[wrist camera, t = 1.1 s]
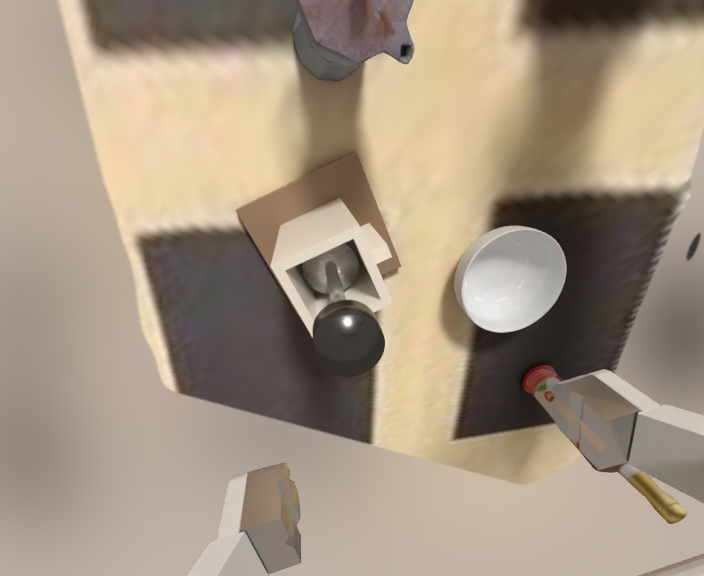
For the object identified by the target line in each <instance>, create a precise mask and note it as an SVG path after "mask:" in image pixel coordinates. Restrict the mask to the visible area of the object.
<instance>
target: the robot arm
mask: <svg viewBox="0 0 704 576" xmlns="http://www.w3.org/2000/svg"><path fill="white" fill-rule="evenodd" d="M553 394H554V395H555V396H556V397H557V399H556V401H555V402H554V404H553V405H552V414H553V417H554V420H555V422H556V424H557V426H558V427H559V429H560V430H561V431H562V432H563V433H564V435H565V436H566V437H567V438H570V439H572V440H574V441H577V442H578V444H579V450H580V451H581V452H582V453H583V454H584V455H585V456H586V458H587V459H588V460H589V461H590V462H591V463H592V464H593V465H594V466H595V467H596V468H597V469H598V470H601V469H605V468H609V467H612V466H616V465H619V464H623V463H627V462H629V463H628V464H629V465H631V466H633V467H635V468H637V469H639V470H641V471H643V472H645V473H647V474H649V475H651V476H652V477H655V478H656V479H658V480H660V481H662V482H664V483H666V484H668V485H670V486H672V487H674V488H676V489H677V490H679V491H681V492H683V493H685V494H687V495H689V496H691V497H693V498H695V499H697V500H699V501H700V502H702V503H704V416H702V415H699V414H696V413H692V412H689V411H686V410H683V409H679V408H676V407H673V406H669V405H662V406H660V405H658V404H657V403H656V402H654V401H653V400H651V399H650V398H648V397H647V396H646V395H644V394H643V393H641V392H640V391H638V390H637V389H635V388H634V387H632V386H631V385H630V384H628V383H627V382H625V381H624V380H622V379H621V378H619V377H618V376H617V375H615V374H614V373H612V372H611V371H608V370H605V369H603V370H599V371H596V372H593V373H589V374H587V375H582V376H579V377H575V378H572V379H569V380H565V381H562V382H559V383H556V384H555V386H554V387H553ZM289 476H290V471H289V469H288V466H287V464H286V463H281V464H277V465H273V466H269V467H265V468H262V469H258V470H254V471H250V472H247V473H243V474H240V475H236V476H232V477H231V479H230V480H229V483H228V486H227V491H226V496H225V501H224V507H223V511H222V516H221V521H220V526H219V531H218V537H217V540H214V541H211V543H210V544H209V545H208V547H207V548H206V549H205V551H204V552H203V554H202V555H201V556H200V558H199V559H198V561H197V562H196V564H195V565H194V566H193V568H192V569H191V571H190V572H189V574H188V575H187V576H269V575H268V574H270V573H273V572H276V571H279V570H282V569H285V568H288V567H291V566H294V565H296V564H299V563H301V535H300V533H299V530H298V528H297V526H296V525H297V523H298V521H299V520H300V504H299V497H298V492H297V488H296V486H295V483H294V481H292V480H290V479H289ZM639 576H704V554H702V555H699V556H696V557H693V558H690V559H687V560H684V561H681V562H678V563H675V564H672V565H669V566H666V567H663V568H660V569H657V570H654V571H651V572H649V573H645V574H642V575H639Z"/></svg>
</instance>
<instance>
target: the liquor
mask: <svg viewBox="0 0 704 576" xmlns="http://www.w3.org/2000/svg"><path fill="white" fill-rule="evenodd" d="M562 381H564V380H563V379H562V378H560V377H559V376H558V375H557V374H556V373H555V370H554V368H553V367H551V366H549V365H540V366H536V367H533V368H531V369H530V370H528V371H527V373H526V374H525V377H524V380H523V388H524V390H525V391H527V392H529V393H531V394H532V395H533V396H534V397H535V398H536V399H537V401H538V402H539V403H540V404H541V405H542V406H543V408H544V409H545V410H546V411H547V412H548V414H549V415H550V416H551V417H552V418H553V419H554V417H553V414H552V405H553V404H554V402H555V401H556V399H557V397H556V396H555V395H554V394H553V387H554V386H555V384H556V383H559V382H562ZM554 421H555V420H554ZM569 439H570V438H569ZM570 441H571V442H572V443H573V444H574V445H575V446H576V448H577V449H578V450H579V444H578V442H577V441H574V440H572V439H570ZM579 451H580V450H579ZM580 452H581V451H580ZM581 454H582V455H583V456H584V457H585V458H586V456H585V455H584V454H583V453H582V452H581ZM586 460H587V461H588V462H589V463H590V464H591V465H592V467H593V468H594V469H595V470H597V471H600V472H618V473H619V474H621V475H622V476H623V477H624V478H625V479H626V480H627V481H628V482H629V483H630V484H631V485H633V486H634V487H635V488H636V489H637V490H638V491H639V492H640V493H641V494H642V495H644V496H645V497H646V498H647V500H648V501H649V502H650V503H651V505H652V506H653V507H654V509H655V510H656V511H657V512H658V513H659V514H660V515H661V516H662V517H663V518H664V519H665V520H666V521H667V522H668V523H670V524H673V523H676V522H679V521H681V520H682V519H683V518H684V517H685V516H686V515H687V511H686V510H685V509H684V508H683V507H682V506H681V505H680V504H679V503H678V502H677V501H676V500H675V499H674V498H673V497H671V496H670V495H669V494H667V493H666V492H665V491H663V490H662V489H660V487H658V485H657V484H656V483H655V482H654V481H653V480H652V478H651V477H650V476H649V475H648V474H647V473H645V472H643V471H641V470H639V469H637V468H635V467H633V466H631V465H629V464H628V463H629V462H627V463H623V464H619V465H616V466H612V467H609V468H605V469H601V470H598V469H597V468H596V467H595V466H594V465H593V464H592V463H591V462H590V461H589V460H588V459H587V458H586Z"/></svg>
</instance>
